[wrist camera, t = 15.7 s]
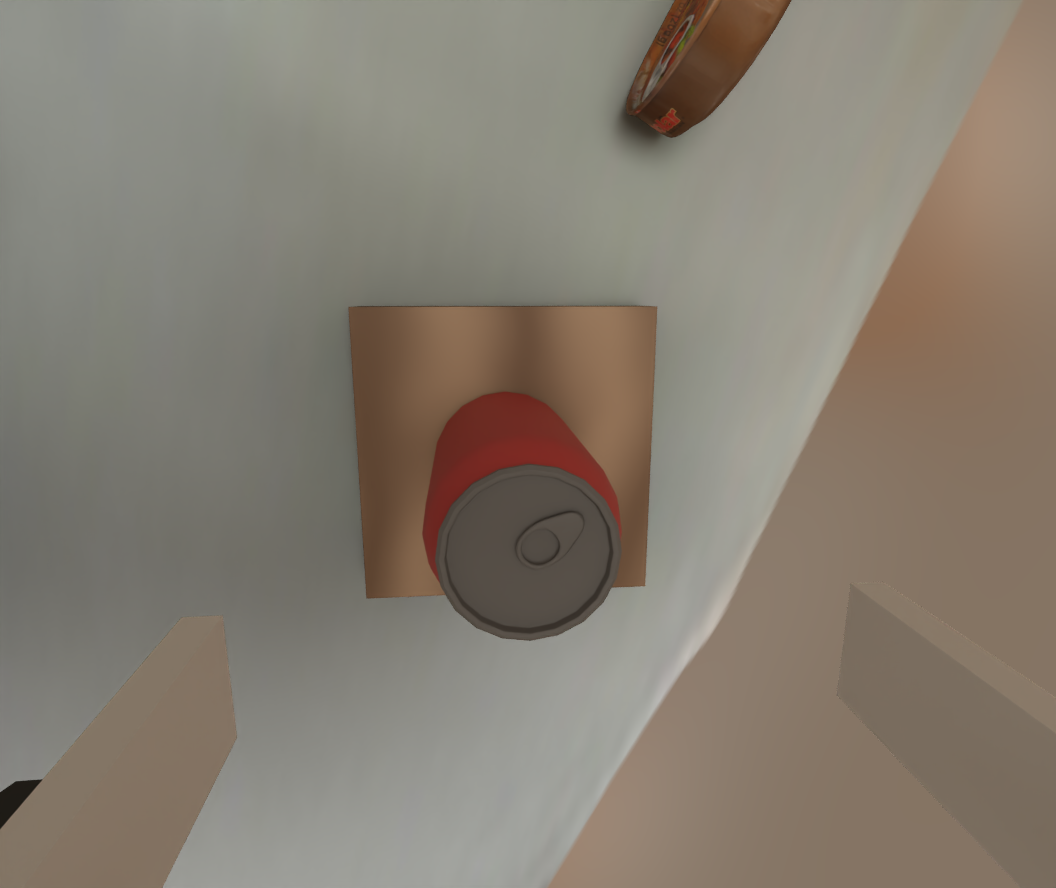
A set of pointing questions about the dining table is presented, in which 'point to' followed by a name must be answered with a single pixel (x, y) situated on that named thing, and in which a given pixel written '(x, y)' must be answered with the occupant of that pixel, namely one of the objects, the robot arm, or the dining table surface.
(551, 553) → the beer can
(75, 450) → the dining table surface
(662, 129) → the tin
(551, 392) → the podium
